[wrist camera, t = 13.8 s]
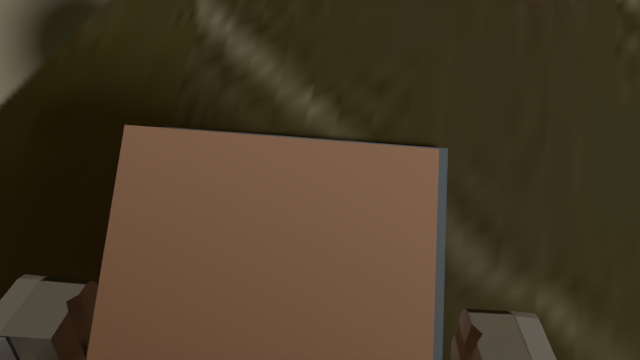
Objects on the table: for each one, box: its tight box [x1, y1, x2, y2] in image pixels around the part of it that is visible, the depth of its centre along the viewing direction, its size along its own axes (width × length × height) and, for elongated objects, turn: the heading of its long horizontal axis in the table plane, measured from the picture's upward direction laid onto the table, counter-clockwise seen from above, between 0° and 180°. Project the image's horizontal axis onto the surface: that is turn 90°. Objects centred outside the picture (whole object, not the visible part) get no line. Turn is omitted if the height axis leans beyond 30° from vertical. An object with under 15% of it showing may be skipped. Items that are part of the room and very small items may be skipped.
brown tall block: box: [86, 125, 439, 360], centre depth 13 cm, size 6×6×11 cm
